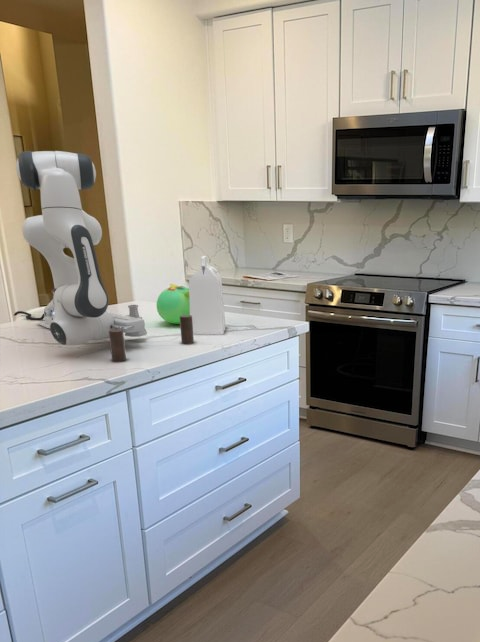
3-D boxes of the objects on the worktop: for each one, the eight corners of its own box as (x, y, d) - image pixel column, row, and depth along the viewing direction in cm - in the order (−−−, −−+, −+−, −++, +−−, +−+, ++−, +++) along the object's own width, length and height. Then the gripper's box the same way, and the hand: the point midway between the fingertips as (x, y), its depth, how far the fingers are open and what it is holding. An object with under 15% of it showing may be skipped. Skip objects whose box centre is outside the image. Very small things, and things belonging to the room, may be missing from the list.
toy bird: (168, 318, 242) (165, 280, 236) (209, 319, 240) (207, 281, 234) (151, 327, 225) (147, 287, 220) (195, 329, 223) (192, 288, 218)
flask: (140, 338, 201) (137, 307, 197) (120, 336, 202) (117, 306, 198) (151, 333, 207) (148, 304, 204) (131, 332, 209) (128, 302, 205)
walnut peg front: (109, 360, 181) (105, 330, 178) (120, 357, 184) (116, 328, 181) (118, 362, 179) (114, 332, 176) (129, 359, 182) (125, 330, 179)
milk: (194, 327, 226) (189, 255, 217) (225, 327, 227) (221, 255, 218) (190, 334, 215) (184, 258, 206) (223, 334, 216) (219, 258, 206)
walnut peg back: (179, 343, 203) (177, 316, 199) (187, 340, 206) (186, 314, 202) (187, 344, 201) (185, 317, 197) (196, 342, 204) (194, 315, 200)
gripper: (122, 319, 186) (156, 312, 197) (80, 311, 197) (115, 305, 207) (124, 339, 189) (158, 331, 199) (83, 330, 199) (118, 323, 210)
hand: (136, 318), depth 203 cm, fingers closed on flask, 3 cm apart
